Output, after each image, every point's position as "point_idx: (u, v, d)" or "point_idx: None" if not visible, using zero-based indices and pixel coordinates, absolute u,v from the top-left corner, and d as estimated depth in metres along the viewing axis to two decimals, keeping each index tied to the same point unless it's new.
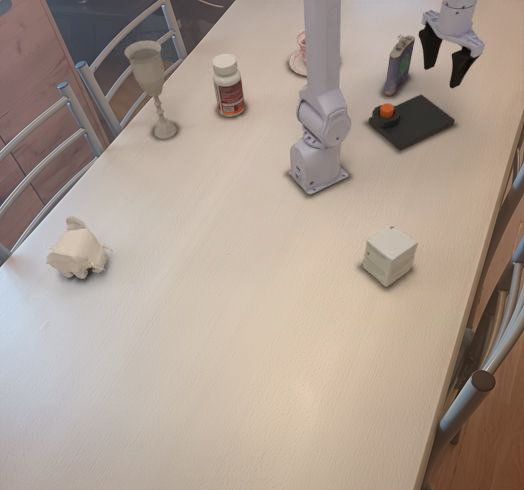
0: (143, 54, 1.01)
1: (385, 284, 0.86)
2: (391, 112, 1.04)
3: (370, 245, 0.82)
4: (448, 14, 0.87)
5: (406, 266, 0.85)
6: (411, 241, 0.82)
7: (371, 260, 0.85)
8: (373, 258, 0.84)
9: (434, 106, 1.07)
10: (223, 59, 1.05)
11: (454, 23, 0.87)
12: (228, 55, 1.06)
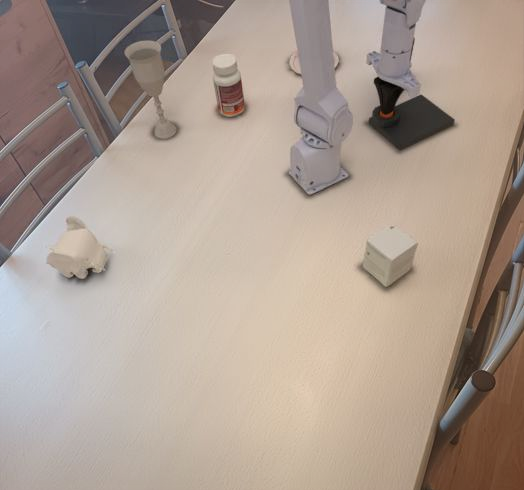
0: (143, 54, 1.01)
1: (385, 284, 0.86)
2: (390, 116, 1.05)
3: (370, 245, 0.82)
4: (386, 58, 0.93)
5: (406, 266, 0.85)
6: (411, 241, 0.82)
7: (371, 260, 0.85)
8: (373, 258, 0.84)
9: (434, 106, 1.07)
10: (223, 59, 1.05)
11: (391, 66, 0.94)
12: (228, 55, 1.06)
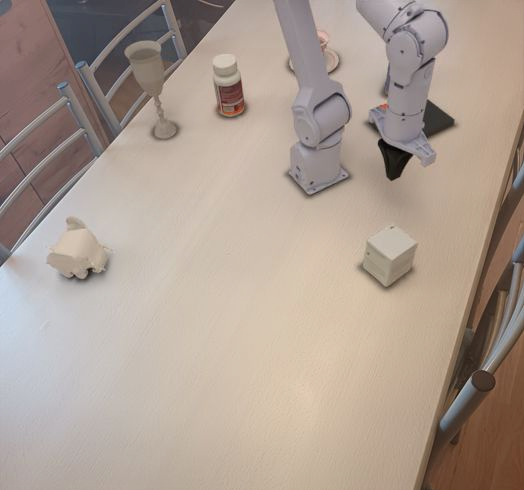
0: (143, 54, 1.01)
1: (385, 284, 0.86)
2: None
3: (370, 245, 0.82)
4: (393, 120, 0.75)
5: (406, 266, 0.85)
6: (411, 241, 0.82)
7: (371, 260, 0.85)
8: (373, 258, 0.84)
9: (434, 106, 1.07)
10: (223, 59, 1.05)
11: (400, 129, 0.76)
12: (228, 55, 1.06)
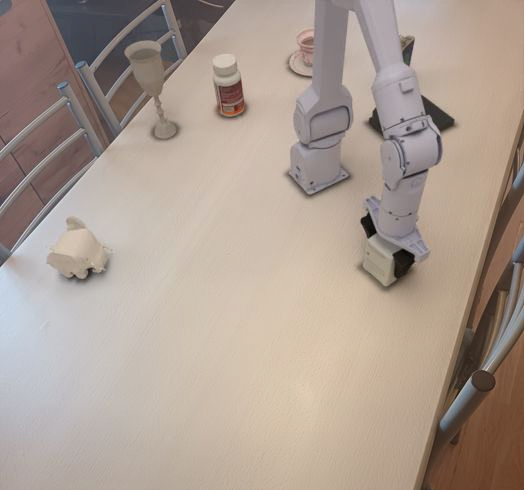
0: (143, 54, 1.01)
1: (385, 284, 0.86)
2: None
3: (370, 245, 0.82)
4: (387, 218, 0.75)
5: None
6: None
7: (371, 259, 0.85)
8: (373, 258, 0.84)
9: (434, 106, 1.07)
10: (223, 59, 1.05)
11: (394, 227, 0.76)
12: (228, 55, 1.06)
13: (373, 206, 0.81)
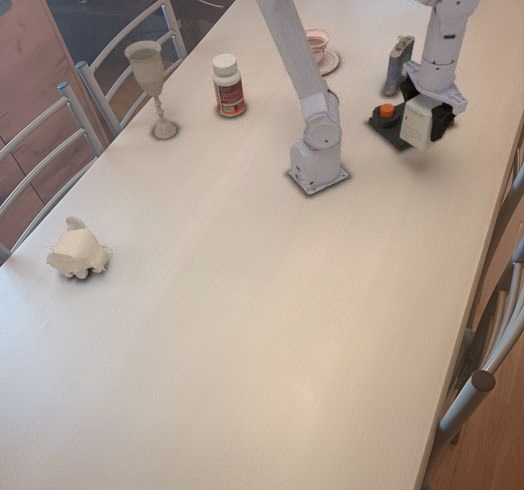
0: (143, 54, 1.01)
1: (421, 148, 0.91)
2: (391, 112, 1.04)
3: (409, 107, 0.88)
4: (428, 69, 0.81)
5: None
6: None
7: (409, 124, 0.90)
8: (411, 122, 0.90)
9: None
10: (223, 59, 1.05)
11: (434, 78, 0.81)
12: (228, 55, 1.06)
13: (412, 69, 0.87)
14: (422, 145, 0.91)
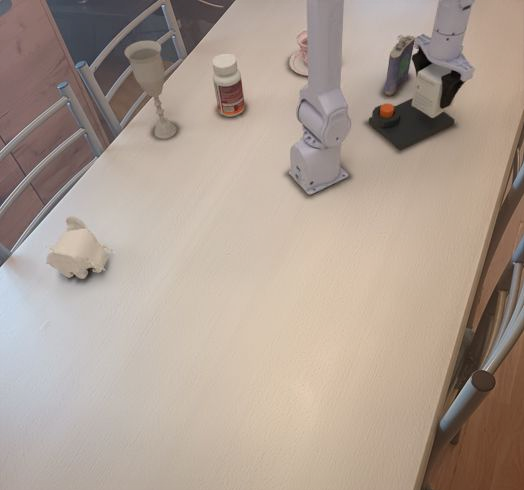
0: (143, 54, 1.01)
1: (432, 115, 1.01)
2: (391, 112, 1.04)
3: (421, 76, 0.98)
4: (439, 40, 0.90)
5: None
6: None
7: (421, 92, 1.00)
8: (422, 90, 0.99)
9: None
10: (223, 59, 1.05)
11: (444, 48, 0.91)
12: (228, 55, 1.06)
13: (423, 42, 0.97)
14: (432, 111, 1.00)
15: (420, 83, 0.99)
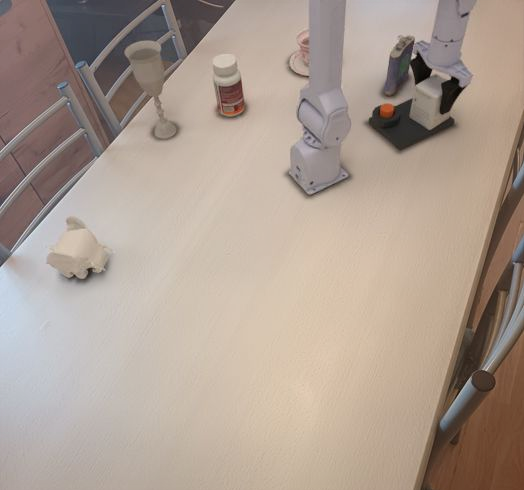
0: (143, 54, 1.01)
1: (429, 127, 1.03)
2: (391, 112, 1.04)
3: (418, 89, 1.00)
4: (437, 46, 0.91)
5: None
6: None
7: (418, 105, 1.02)
8: (419, 103, 1.02)
9: None
10: (223, 59, 1.05)
11: (443, 54, 0.92)
12: (228, 55, 1.06)
13: (422, 48, 0.97)
14: (429, 124, 1.02)
15: (417, 96, 1.01)
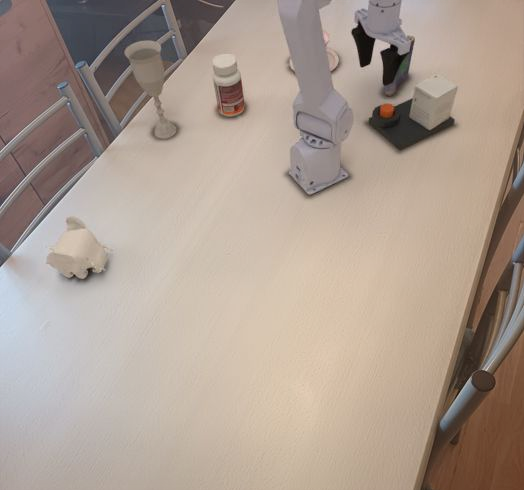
0: (143, 54, 1.01)
1: (429, 127, 1.03)
2: (391, 112, 1.04)
3: (418, 89, 1.00)
4: (374, 12, 0.88)
5: (446, 111, 1.03)
6: (452, 85, 0.99)
7: (418, 105, 1.02)
8: (419, 103, 1.02)
9: None
10: (223, 59, 1.05)
11: (380, 21, 0.89)
12: (228, 55, 1.06)
13: (363, 16, 0.95)
14: (429, 124, 1.02)
15: (417, 96, 1.01)
